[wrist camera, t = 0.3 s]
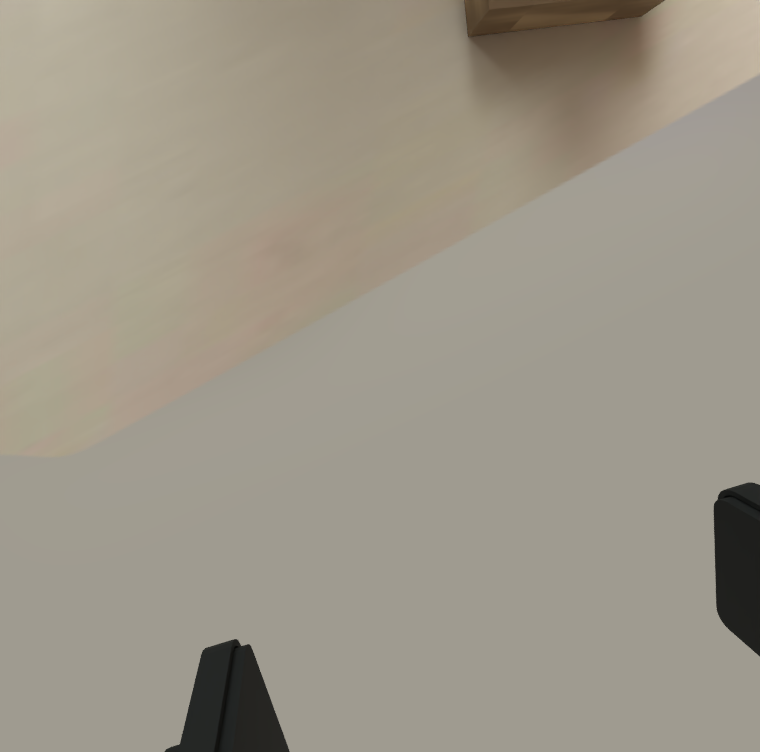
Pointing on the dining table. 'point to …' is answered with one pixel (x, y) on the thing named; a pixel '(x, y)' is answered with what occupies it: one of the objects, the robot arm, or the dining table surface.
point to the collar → (546, 13)
